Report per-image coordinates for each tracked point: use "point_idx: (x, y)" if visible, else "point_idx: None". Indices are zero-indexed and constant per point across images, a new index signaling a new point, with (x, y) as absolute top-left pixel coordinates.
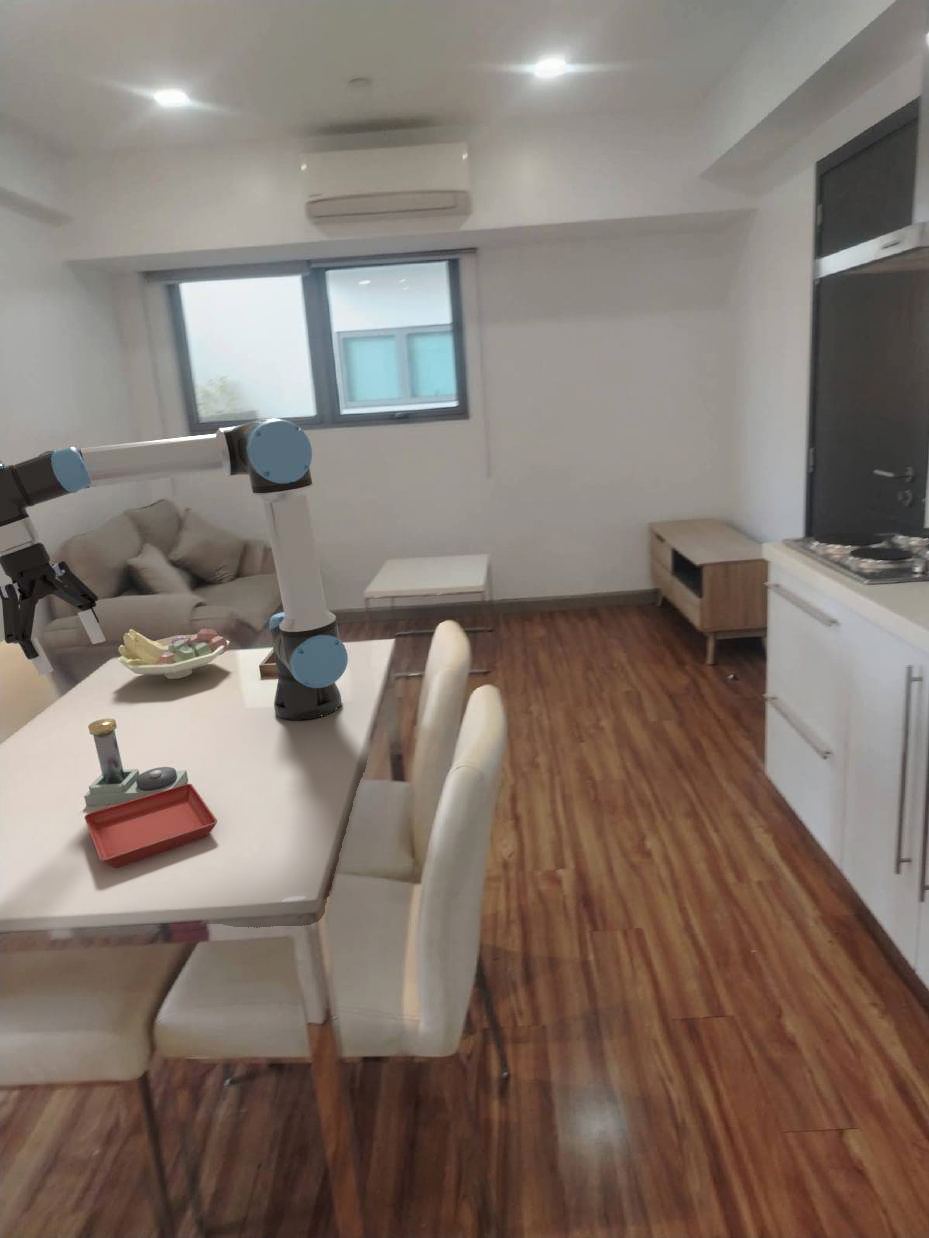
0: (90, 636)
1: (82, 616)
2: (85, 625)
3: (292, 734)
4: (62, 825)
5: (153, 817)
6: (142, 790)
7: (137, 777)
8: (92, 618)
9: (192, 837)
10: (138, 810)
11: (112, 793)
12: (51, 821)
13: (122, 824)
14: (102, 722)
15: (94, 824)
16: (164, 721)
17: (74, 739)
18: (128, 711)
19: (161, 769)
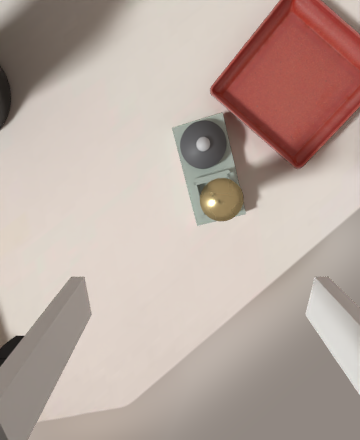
0: (79, 331)
1: (27, 415)
2: (56, 372)
3: (45, 69)
4: (285, 208)
5: (265, 106)
6: (226, 149)
7: (210, 166)
8: (28, 354)
9: (310, 14)
10: (258, 130)
11: (237, 182)
12: (278, 227)
13: (284, 132)
14: (217, 202)
15: (294, 159)
16: (45, 265)
17: (106, 341)
18: None
19: (187, 149)
